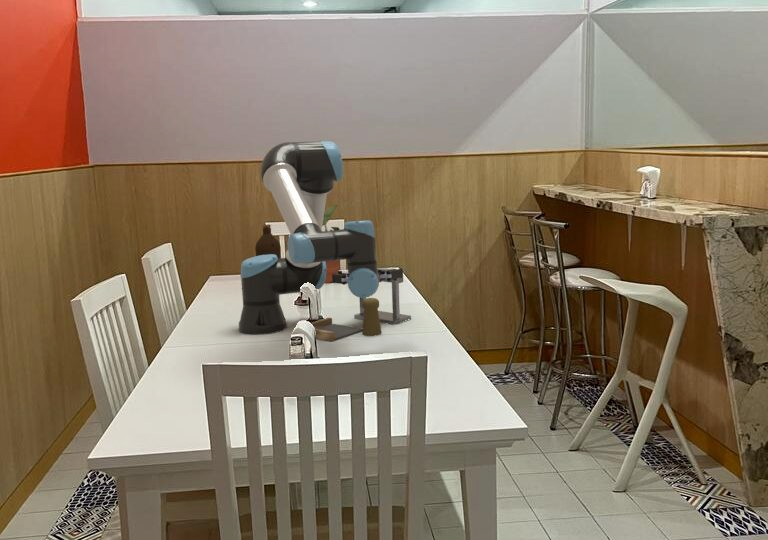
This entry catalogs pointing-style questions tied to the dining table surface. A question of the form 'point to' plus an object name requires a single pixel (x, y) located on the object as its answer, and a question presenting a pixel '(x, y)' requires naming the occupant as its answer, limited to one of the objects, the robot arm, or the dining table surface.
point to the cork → (371, 317)
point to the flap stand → (387, 316)
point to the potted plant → (333, 266)
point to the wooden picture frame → (322, 333)
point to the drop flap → (390, 280)
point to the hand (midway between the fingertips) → (368, 274)
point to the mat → (341, 330)
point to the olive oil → (268, 243)
